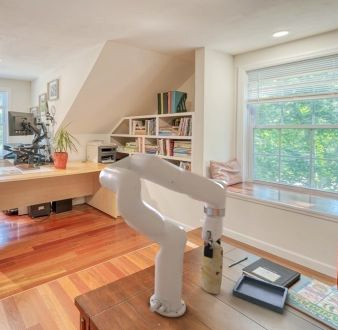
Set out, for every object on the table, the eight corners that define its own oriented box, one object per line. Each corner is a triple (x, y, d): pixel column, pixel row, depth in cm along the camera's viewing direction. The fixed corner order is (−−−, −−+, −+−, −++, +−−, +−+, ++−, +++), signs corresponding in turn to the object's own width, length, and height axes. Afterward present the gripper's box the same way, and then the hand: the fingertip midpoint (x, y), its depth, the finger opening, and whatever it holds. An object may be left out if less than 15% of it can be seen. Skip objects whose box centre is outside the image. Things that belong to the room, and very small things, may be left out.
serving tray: (282, 314, 89) (282, 308, 89) (232, 294, 99) (232, 289, 99) (287, 293, 100) (288, 288, 100) (242, 278, 111) (243, 273, 110)
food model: (225, 295, 99) (228, 247, 97) (210, 297, 98) (213, 248, 95) (209, 281, 109) (212, 236, 106) (195, 283, 107) (197, 238, 105)
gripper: (211, 204, 108) (209, 243, 110) (196, 214, 95) (194, 258, 98) (231, 208, 103) (228, 249, 105) (217, 218, 90) (214, 264, 93)
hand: (212, 253), depth 101 cm, fingers open, 8 cm apart
